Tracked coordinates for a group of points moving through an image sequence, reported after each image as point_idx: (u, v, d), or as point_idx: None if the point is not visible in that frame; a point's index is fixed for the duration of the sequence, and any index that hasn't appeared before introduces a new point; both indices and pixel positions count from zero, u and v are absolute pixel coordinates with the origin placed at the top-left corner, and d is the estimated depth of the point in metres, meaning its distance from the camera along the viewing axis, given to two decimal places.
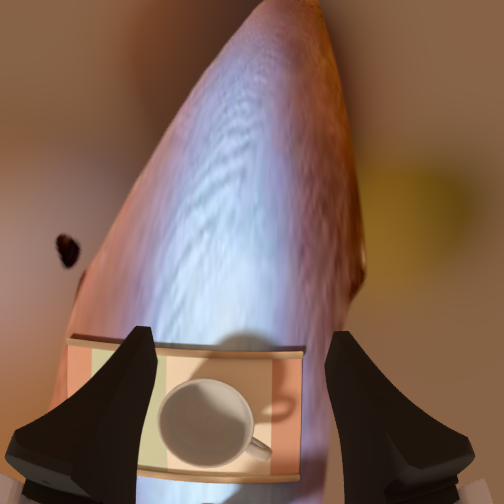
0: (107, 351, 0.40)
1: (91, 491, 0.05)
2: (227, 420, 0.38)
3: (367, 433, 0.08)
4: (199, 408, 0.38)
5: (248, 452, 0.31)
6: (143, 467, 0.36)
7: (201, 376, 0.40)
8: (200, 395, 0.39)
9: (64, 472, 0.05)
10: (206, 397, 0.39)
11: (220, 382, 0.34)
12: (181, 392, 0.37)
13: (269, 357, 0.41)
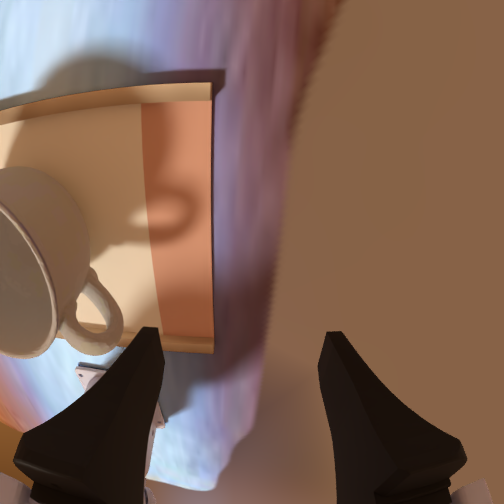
0: None
1: (102, 494, 0.05)
2: None
3: (358, 434, 0.08)
4: None
5: (65, 338, 0.15)
6: None
7: (20, 156, 0.17)
8: None
9: (76, 476, 0.05)
10: None
11: None
12: None
13: (128, 100, 0.15)
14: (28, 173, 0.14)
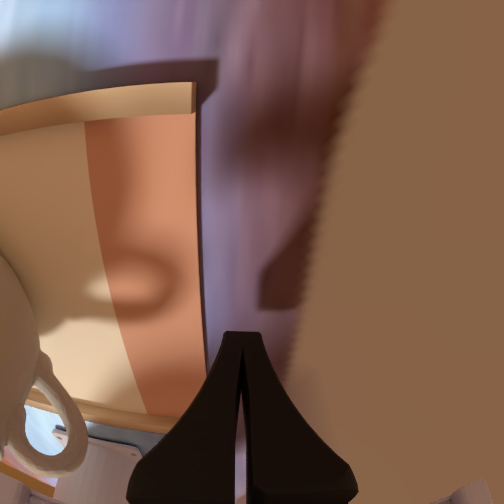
0: None
1: None
2: None
3: (249, 441, 0.08)
4: None
5: (16, 456, 0.08)
6: None
7: None
8: None
9: (225, 499, 0.05)
10: None
11: None
12: None
13: (62, 118, 0.09)
14: None
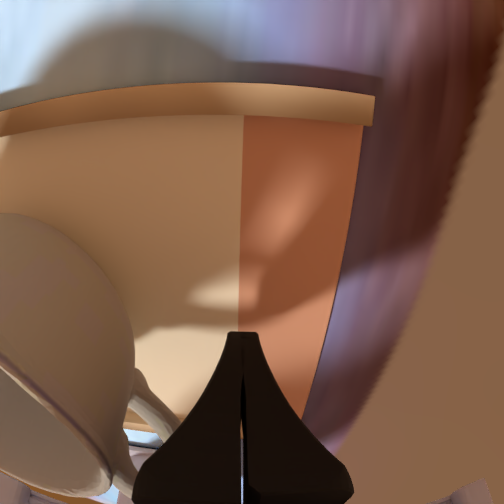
0: None
1: None
2: None
3: (245, 441, 0.08)
4: None
5: (119, 489, 0.09)
6: None
7: (18, 192, 0.11)
8: None
9: (232, 499, 0.05)
10: None
11: None
12: None
13: (228, 108, 0.09)
14: (22, 236, 0.08)
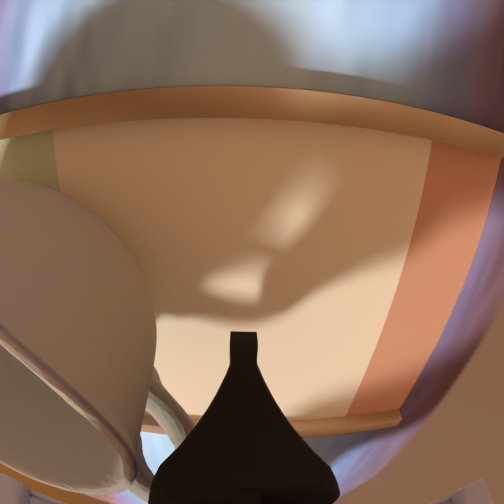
0: None
1: None
2: None
3: None
4: None
5: (127, 488, 0.08)
6: None
7: (174, 187, 0.11)
8: None
9: (252, 500, 0.05)
10: None
11: None
12: None
13: (434, 134, 0.09)
14: (57, 215, 0.07)
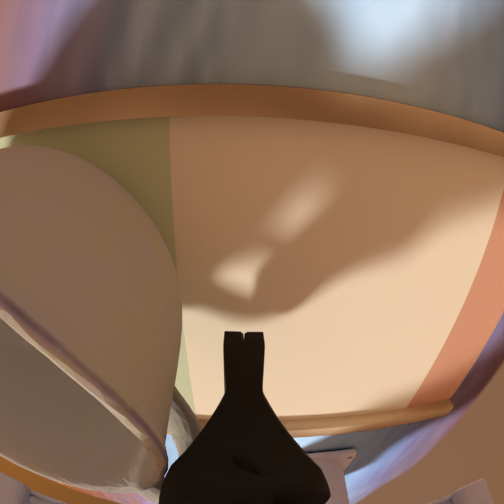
0: None
1: None
2: None
3: None
4: None
5: None
6: None
7: (307, 189, 0.11)
8: None
9: (264, 499, 0.05)
10: None
11: None
12: None
13: None
14: (103, 199, 0.07)
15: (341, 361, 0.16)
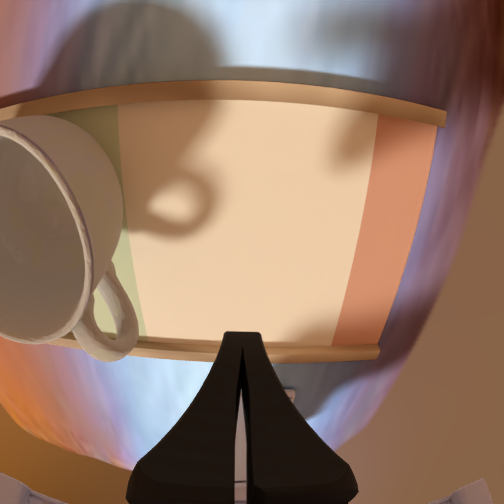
0: None
1: None
2: None
3: (249, 441, 0.08)
4: (41, 178, 0.16)
5: (76, 337, 0.13)
6: (106, 335, 0.23)
7: (203, 145, 0.16)
8: None
9: (225, 499, 0.05)
10: None
11: (27, 145, 0.09)
12: (8, 138, 0.13)
13: (376, 109, 0.15)
14: (83, 137, 0.13)
15: (253, 285, 0.21)
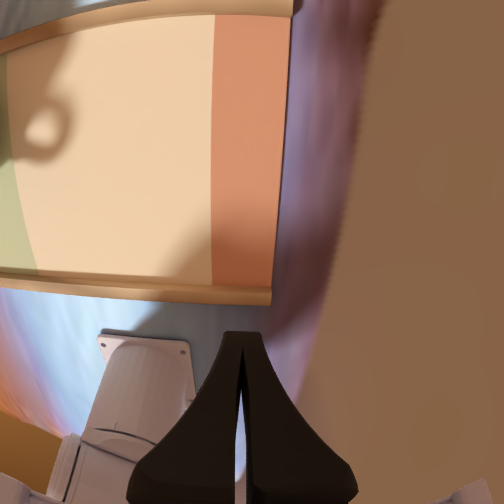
0: None
1: None
2: None
3: (249, 441, 0.08)
4: None
5: None
6: (9, 270, 0.21)
7: (61, 73, 0.15)
8: None
9: (225, 499, 0.05)
10: None
11: None
12: None
13: (205, 8, 0.13)
14: None
15: (113, 206, 0.19)
